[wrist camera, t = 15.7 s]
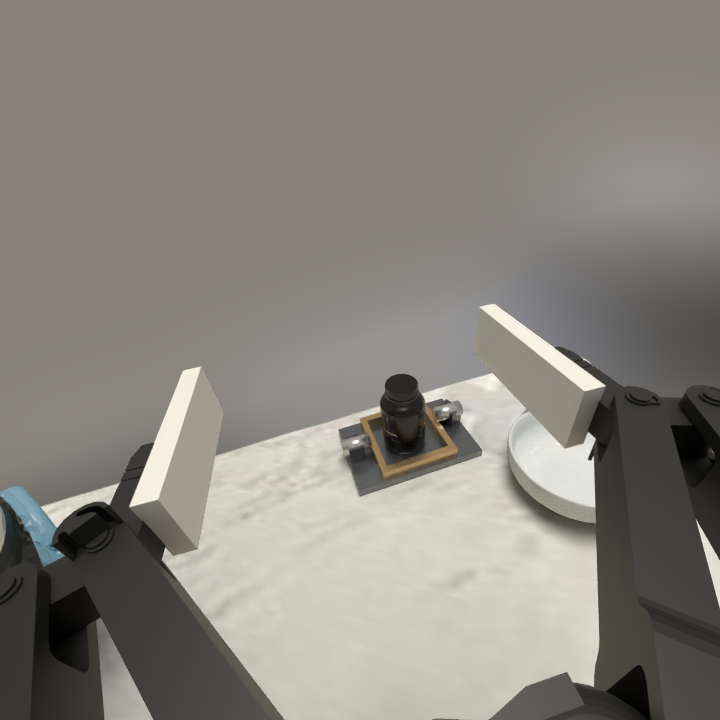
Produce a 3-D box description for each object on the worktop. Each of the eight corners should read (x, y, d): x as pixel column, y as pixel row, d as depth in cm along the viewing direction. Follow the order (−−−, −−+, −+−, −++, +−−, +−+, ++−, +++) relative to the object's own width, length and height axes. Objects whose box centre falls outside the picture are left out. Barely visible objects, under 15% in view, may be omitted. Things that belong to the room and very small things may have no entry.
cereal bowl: (575, 425, 55) (586, 393, 51) (677, 519, 41) (704, 484, 37) (480, 452, 52) (484, 420, 48) (555, 560, 39) (569, 528, 35)
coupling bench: (356, 497, 49) (352, 477, 46) (336, 435, 59) (332, 415, 56) (482, 454, 52) (485, 433, 49) (443, 402, 63) (443, 383, 60)
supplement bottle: (380, 453, 53) (372, 397, 46) (387, 422, 58) (381, 368, 52) (424, 458, 51) (422, 400, 44) (427, 426, 57) (426, 369, 50)
